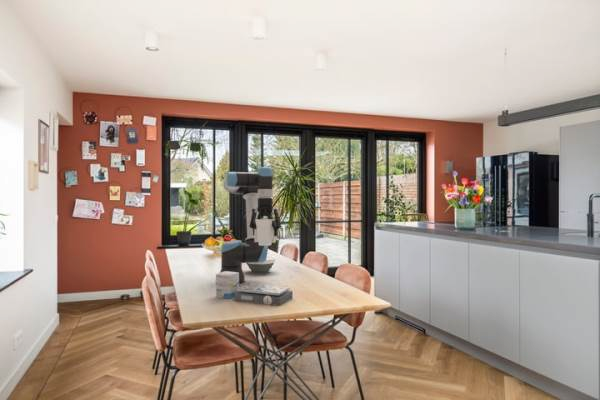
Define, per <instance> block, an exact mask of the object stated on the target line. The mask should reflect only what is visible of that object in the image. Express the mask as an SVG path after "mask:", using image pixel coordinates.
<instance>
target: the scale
mask: <svg viewBox="0 0 600 400" xmlns="http://www.w3.org/2000/svg"><path fill="white" fill-rule="evenodd" d="M293 293H294V292H293V290H288V291H286V292H284V293H282V294H280V295H270V294H261V293H252V292H242V291H237V292H235V293H234V297H233V300H234V301H237V302H238V301H239V302H246V303H247V302H248V303H254V304H263V305H268V306H269V305H272V306H278V307H279V306H281V305H284V304H285V303H287V302H289V301H290V300H292V299H293Z"/></svg>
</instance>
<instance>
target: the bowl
mask: <svg viewBox="0 0 600 400" xmlns="http://www.w3.org/2000/svg"><path fill="white" fill-rule="evenodd" d="M275 262H276V257H275V256H273V255H267V258H266V260H265V261H264V262H258V263H257V262H256V263H245V264H246V265H247V266H248V269H249V270H251V273H252V274H256V275H257V274H258V275H261V274H267V273H270V270H271V269H272V268H273V265H274V264H275Z"/></svg>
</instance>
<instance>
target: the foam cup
mask: <svg viewBox="0 0 600 400" xmlns="http://www.w3.org/2000/svg"><path fill="white" fill-rule="evenodd" d="M272 220H273V221H275V218H274V219H269V218H261V219H256V227H257V235H258V243H259V245H260V246H268V247H269V246H272V244H273V243H272V230H274V228H273V226H272Z"/></svg>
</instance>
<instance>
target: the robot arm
mask: <svg viewBox="0 0 600 400" xmlns="http://www.w3.org/2000/svg"><path fill="white" fill-rule="evenodd" d="M273 173H274V172H273V168H272V167H270V166H259V167H258V168H257V172H253V171H252V172H248V171H246V172H245V171H243V172H242V171H228V172H226V177H225V179H224V180H223V189H225V191H226V192H228V193H231V194H234V195H242V198H243V199H244V200H245V213H246V235H247V237H246V238H245V239H244V242H243V241H242V240H239V239H237V240H229V241H226V242H223V243H222V244H221V250H220V253H221V255H220V256H221V259H220V260H221V264H220V265H221V267H220V272H224V271H229V272H239V284H241V283H244V282H245V281H246V279H245V274H244V271H243V264H246V263H256V262H257V263H258V262H264V261H265V260H266V258H267V256H268V252H269V246H260V245H259V243H258V235H257V227H256V219H263V217H267V219H274V221H273V220H272V226H273V230H272V244H276V243H277V236H278V235H279V234H278V232H279V229H281V228H282V224H281V220H280V216H279V209H278V208H274V207H273V206H274V204H273V203H274V202H273V199H274V198H273V193H274V192H273V182H274V181H273V176H274V174H273ZM273 216H274V217H273ZM220 272H219V273H220Z"/></svg>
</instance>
